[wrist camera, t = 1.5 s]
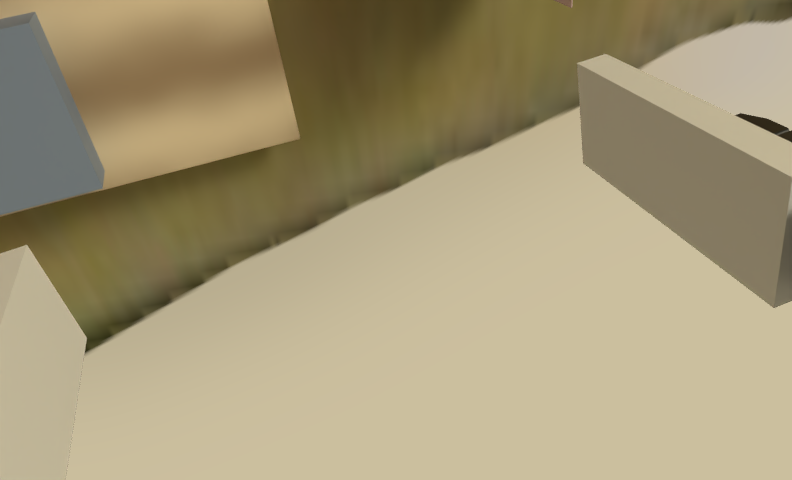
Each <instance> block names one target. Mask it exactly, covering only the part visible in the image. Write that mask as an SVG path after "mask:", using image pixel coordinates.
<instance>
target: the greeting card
mask: <svg viewBox="0 0 792 480" xmlns="http://www.w3.org/2000/svg"><path fill="white" fill-rule="evenodd" d="M555 1H557V2H559V3H561V4H564V5H566V6H568V7H570V8H572V2H573V0H555Z"/></svg>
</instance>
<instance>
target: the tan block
mask: <svg viewBox="0 0 792 480" xmlns="http://www.w3.org/2000/svg"><path fill="white" fill-rule="evenodd" d="M31 12H36V15H37V17H38V19H39V22H40V24H41V26H42V28H43V31H44V33H45V35H46V38H47V40H48V42H49V44H50V47H51V49H52V51H53V54H54V56H55V58H56V60H57V63H58V65H59V67H60V70H61V72H62V74H63V76H64V79H65V81H66V83H67V86H68V88H69V90H70V92H71V95H72V97H73V99H74V102H75V104H76V106H77V108H78V111H79V113H80V115H81V118H82V120H83V122H84V124H85V127H86V129H87V131H88V134H89V136H90V138H91V140H92V143H93V145H94V147H95V150H96V152H97V154H98V156H99V159H100V161H101V163H102V165H103V168H104V170H105V173H104V182H103V189H99V190H95V191H91V192H88V193H84V194H80V195H76V196H72V197H68V198H64V199H61V200H57V201H53V202H49V203H45V204H41V205H38V206H34V207H30V208H26V209H22V210H18V211H14V212H11V213H7V214H3V215H0V217H1V216H5V215H9V214H13V213H17V212H21V211H24V210H28V209H32V208H36V207H40V206H44V205H47V204H51V203H55V202H59V201H63V200H67V199H71V198H74V197H78V196H82V195H86V194H90V193H94V192H97V191H101V190H105V189H109V188H113V187H117V186H121V185H124V184H128V183H132V182H136V181H140V180H144V179H147V178H151V177H155V176H159V175H163V174H167V173H170V172H174V171H178V170H182V169H186V168H190V167H194V166H197V165H201V164H205V163H209V162H213V161H217V160H220V159H224V158H228V157H232V156H236V155H240V154H243V153H247V152H251V151H255V150H259V149H263V148H267V147H270V146H274V145H278V144H282V143H286V142H290V141H293V140H297V139H300V135H299V130H298V126H297V122H296V118H295V114H294V110H293V105H292V101H291V97H290V93H289V89H288V84H287V80H286V76H285V72H284V68H283V63H282V59H281V55H280V51H279V47H278V43H277V38H276V34H275V30H274V26H273V22H272V17H271V13H270V9H269V5H268V1H267V0H0V19H3V18H7V17H12V16H17V15H22V14H27V13H31Z"/></svg>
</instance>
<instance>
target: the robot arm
mask: <svg viewBox="0 0 792 480" xmlns="http://www.w3.org/2000/svg"><path fill="white" fill-rule="evenodd" d="M577 66H578V83H579V100H580V115H581V133H582V150H583V163H584V164H585V165H586V166H588V167H589V168H590V169H592V170H593V171H595V172H596V173H597V174H598V175H600V176H601V177H602V178H604V179H605V180H606V181H607V182H609V183H610V184H611V185H613V186H614V187H616V188H617V189H618V190H619V191H621V192H622V193H623V194H625V195H626V196H627V197H629V198H630V199H631V200H632V201H634V202H635V203H636V204H638V205H639V206H640V207H642V208H643V209H644V210H646V211H647V212H648V213H650V214H651V215H653V217H655V218H656V219H658V220H659V221H660V222H661V223H663V224H664V225H666V226H667V227H668V228H669V229H671V230H672V231H673V232H675V233H676V234H677V235H679V236H680V237H681V238H683V239H684V240H685V241H686V242H688V243H689V244H690V245H692V246H693V247H694V248H696V249H697V250H698V251H700V252H701V253H702V254H703V255H705V256H706V257H707V258H709V259H710V260H711V261H713V262H714V263H715V264H717V265H718V266H719V267H721V268H722V269H723V270H725V271H726V272H727V273H728V274H730V275H731V276H732V277H734V278H735V279H737V280H738V281H739V282H740V283H742V284H743V285H744V286H746V287H747V288H748V289H750V290H751V291H752V292H754V293H755V294H756V295H758V296H759V297H760V298H762V299H763V300H764V301H765V302H767V303H768V304H769V305H771V306H772V307H773V308H775V307H778V306H780V305H783V304H785V303H788V302H790V301H792V131H789V129H788V128H787V127H784V126H782V125H780V124H778V123H775V122H773V121H771V120H769V119H766V118H761V117H756V116H751V115H746V114H738V115H733V114H731V113H729V112H727V111H725V110H723V109H720V108H718V107H716V106H714V105H712V104H710V103H708V102H706V101H703V100H701V99H699V98H697V97H695V96H693V95H691V94H689V93H687V92H685V91H683V90H681V89H678V88H676V87H674V86H672V85H670V84H668V83H666V82H664V81H662V80H659V79H657V78H655V77H653V76H651V75H649V74H647V73H645V72H643V71H641V70H639V69H636V68H634V67H632V66H630V65H628V64H626V63H624V62H622V61H620V60H618V59H616V58H613V57H611V56H609V55H607V54H604V55H601V56H598V57H595V58H592V59H589V60H586V61H583V62H580V63H577ZM86 340H87V338H86V336H85V335H84V333H83V331H82V330H81V328H80V327H79V325H78V324H77V322H76V320H75V319H74V317H73V316H72V314H71V313H70V311H69V310H68V308H67V306H66V305H65V303H64V302H63V300H62V299H61V297H60V296H59V294H58V292H57V291H56V289H55V288H54V286H53V285H52V283H51V282H50V280H49V278H48V277H47V275H46V274H45V272H44V271H43V269H42V267H41V266H40V264H39V263H38V261H37V260H36V258H35V257H34V255H33V253H32V252H31V250H30V249H29V247H28V246H27V245H25V246H22V247H19V248H16V249H13V250H10V251H7V252H4V253H1V254H0V480H66V474H67V467H68V460H69V453H70V447H71V440H72V433H73V427H74V426H73V425H74V420H75V413H76V407H77V400H78V393H79V387H80V380H81V373H82V366H83V360H84V353H85V346H86Z"/></svg>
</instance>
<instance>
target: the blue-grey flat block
mask: <svg viewBox="0 0 792 480" xmlns="http://www.w3.org/2000/svg"><path fill="white" fill-rule="evenodd" d="M104 173H105V170H104V168H103V165H102V163H101V161H100V159H99V156H98V154H97V152H96V150H95V147H94V145H93V143H92V140H91V138H90V136H89V134H88V131H87V129H86V127H85V124H84V122H83V120H82V118H81V115H80V113H79V111H78V108H77V106H76V104H75V102H74V99H73V97H72V95H71V92H70V90H69V88H68V86H67V83H66V81H65V79H64V76H63V74H62V72H61V70H60V67H59V65H58V63H57V60H56V58H55V56H54V54H53V51H52V49H51V47H50V44H49V42H48V40H47V38H46V35H45V33H44V31H43V28H42V26H41V24H40V22H39V19H38V17H37V15H36V12H31V13H27V14H22V15H17V16H12V17H7V18H3V19H0V215H3V214H7V213H11V212H14V211H18V210H22V209H26V208H30V207H34V206H38V205H41V204H45V203H49V202H53V201H57V200H61V199H64V198H68V197H72V196H76V195H80V194H84V193H88V192H91V191H95V190H99V189H103V182H104Z"/></svg>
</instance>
